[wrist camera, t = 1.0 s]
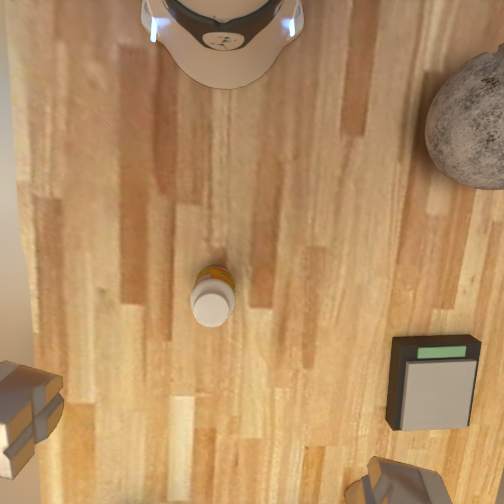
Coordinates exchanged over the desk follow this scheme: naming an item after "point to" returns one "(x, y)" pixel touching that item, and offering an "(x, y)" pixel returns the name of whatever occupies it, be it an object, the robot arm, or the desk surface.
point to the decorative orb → (470, 124)
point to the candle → (352, 493)
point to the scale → (432, 382)
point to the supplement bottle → (213, 296)
